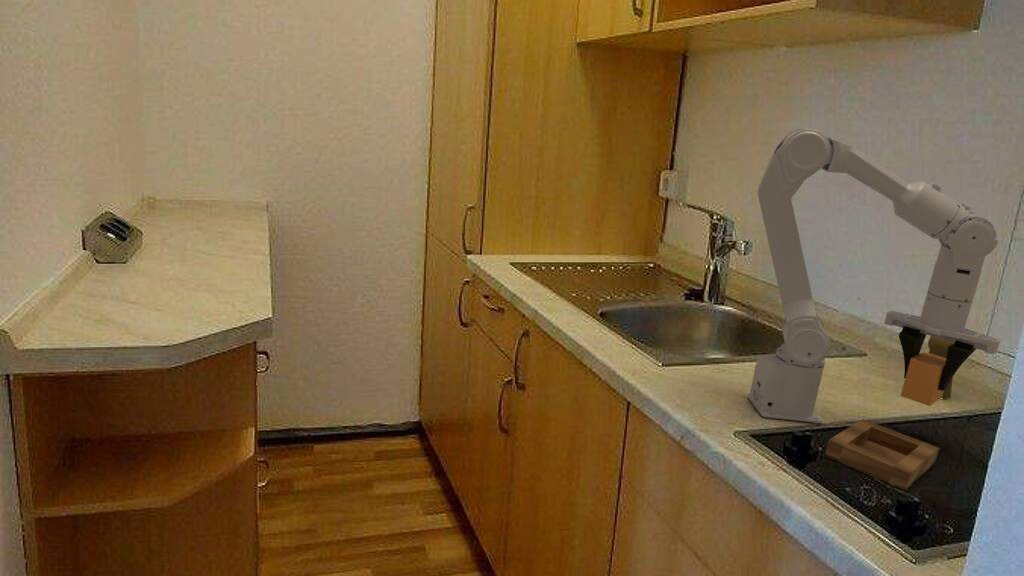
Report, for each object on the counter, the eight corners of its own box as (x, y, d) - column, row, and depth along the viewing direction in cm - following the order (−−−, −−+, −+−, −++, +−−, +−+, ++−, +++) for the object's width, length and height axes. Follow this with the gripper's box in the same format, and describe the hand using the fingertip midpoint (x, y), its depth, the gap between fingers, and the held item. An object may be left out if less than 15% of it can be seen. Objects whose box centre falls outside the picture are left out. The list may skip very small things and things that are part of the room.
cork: (916, 382, 131) (931, 327, 128) (952, 393, 128) (969, 337, 125) (909, 390, 127) (925, 333, 124) (947, 402, 123) (964, 343, 120)
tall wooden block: (929, 406, 102) (940, 367, 100) (900, 395, 104) (910, 358, 103) (942, 397, 106) (952, 360, 104) (913, 387, 108) (923, 351, 107)
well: (905, 490, 90) (910, 473, 89) (824, 456, 97) (828, 439, 97) (934, 463, 99) (939, 447, 98) (858, 433, 106) (862, 418, 105)
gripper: (887, 286, 103) (865, 371, 107) (1001, 314, 93) (972, 407, 97) (903, 281, 108) (881, 363, 111) (1013, 307, 98) (985, 396, 102)
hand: (925, 383), depth 104 cm, fingers closed on tall wooden block, 4 cm apart
